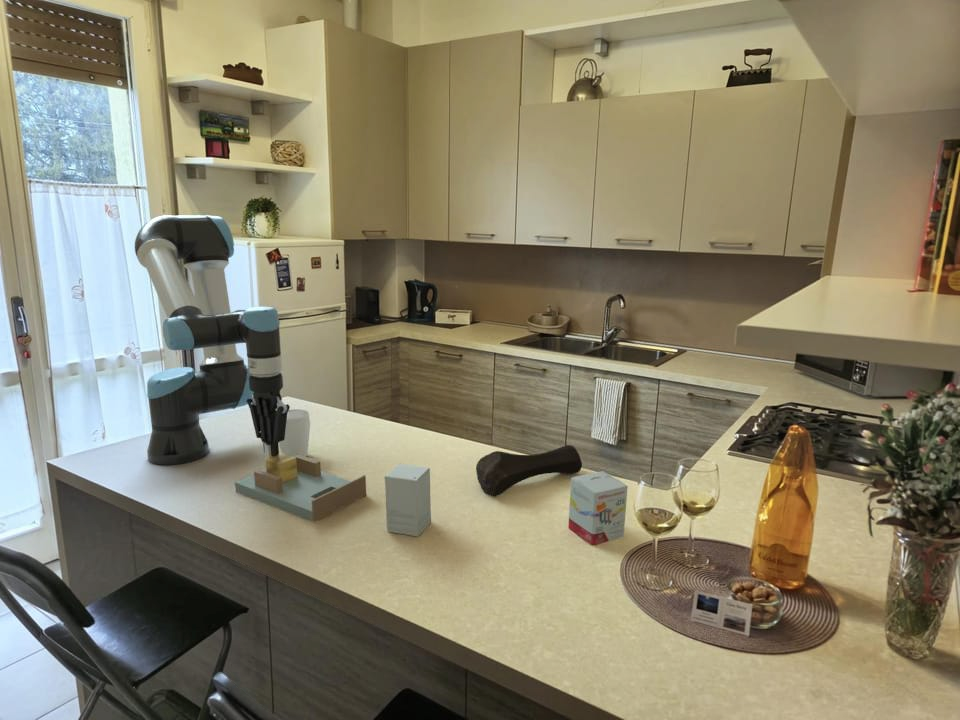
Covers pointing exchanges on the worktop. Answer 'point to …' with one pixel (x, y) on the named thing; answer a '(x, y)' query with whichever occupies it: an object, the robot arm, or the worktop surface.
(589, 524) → the ink box
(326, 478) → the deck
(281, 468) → the ochre block
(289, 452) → the cup
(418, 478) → the supplement box
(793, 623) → the worktop surface
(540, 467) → the dark brown bone
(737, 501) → the worktop surface
